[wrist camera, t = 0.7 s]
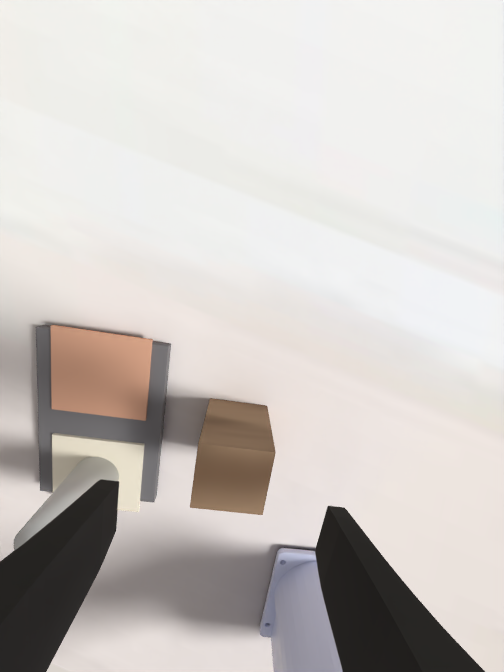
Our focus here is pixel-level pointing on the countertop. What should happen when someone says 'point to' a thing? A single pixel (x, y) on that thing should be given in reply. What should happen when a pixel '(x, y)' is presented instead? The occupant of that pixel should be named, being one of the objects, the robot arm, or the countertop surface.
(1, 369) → the countertop surface
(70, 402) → the mat
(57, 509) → the grey peg
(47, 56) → the countertop surface
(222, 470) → the walnut block
